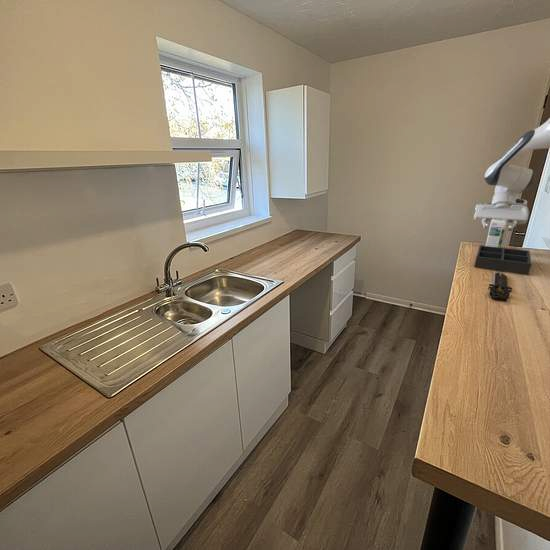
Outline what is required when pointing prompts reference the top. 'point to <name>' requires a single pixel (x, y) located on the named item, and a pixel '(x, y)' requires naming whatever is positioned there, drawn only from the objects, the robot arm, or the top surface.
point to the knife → (496, 285)
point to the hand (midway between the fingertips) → (497, 229)
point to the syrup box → (496, 232)
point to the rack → (503, 259)
